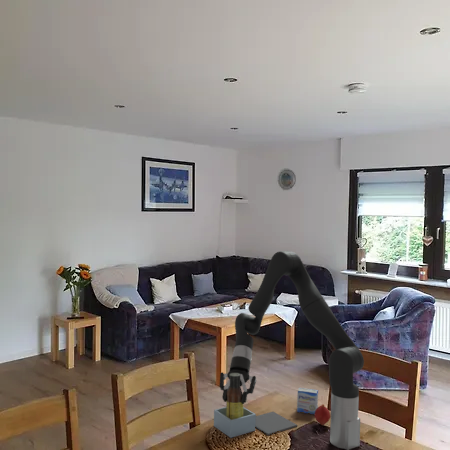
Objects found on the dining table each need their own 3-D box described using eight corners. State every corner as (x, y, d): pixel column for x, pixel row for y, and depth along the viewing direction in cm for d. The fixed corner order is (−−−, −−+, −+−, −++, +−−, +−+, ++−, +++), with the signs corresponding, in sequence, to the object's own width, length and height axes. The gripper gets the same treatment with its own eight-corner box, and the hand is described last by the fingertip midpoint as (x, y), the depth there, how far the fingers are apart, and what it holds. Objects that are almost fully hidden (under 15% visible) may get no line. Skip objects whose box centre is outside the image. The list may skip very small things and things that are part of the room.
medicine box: (296, 412, 188) (297, 390, 188) (298, 407, 192) (298, 387, 192) (316, 415, 186) (317, 393, 186) (317, 410, 190) (318, 389, 190)
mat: (297, 426, 175) (297, 424, 175) (268, 435, 167) (268, 433, 167) (272, 412, 187) (272, 411, 187) (244, 420, 179) (244, 419, 179)
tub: (255, 430, 171) (255, 414, 171) (230, 437, 165) (231, 420, 165) (237, 419, 180) (238, 403, 180) (213, 425, 174) (214, 409, 174)
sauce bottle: (246, 428, 173) (248, 374, 172) (235, 433, 168) (237, 378, 168) (233, 422, 177) (235, 370, 177) (222, 427, 172) (223, 374, 172)
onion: (311, 424, 177) (311, 403, 177) (319, 420, 181) (320, 399, 181) (324, 429, 173) (325, 408, 173) (332, 425, 177) (333, 404, 177)
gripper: (221, 353, 181) (212, 395, 170) (258, 357, 178) (252, 399, 166) (224, 363, 186) (216, 404, 175) (260, 366, 183) (254, 408, 172)
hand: (233, 401), depth 171 cm, fingers closed on sauce bottle, 6 cm apart
